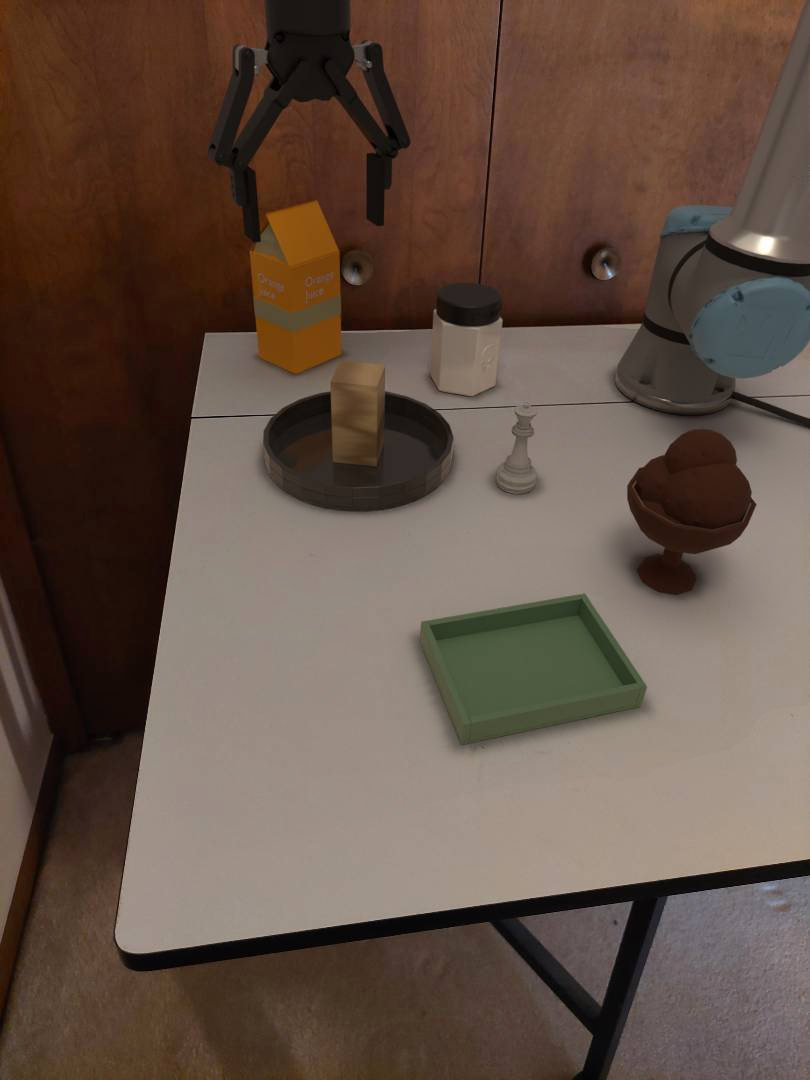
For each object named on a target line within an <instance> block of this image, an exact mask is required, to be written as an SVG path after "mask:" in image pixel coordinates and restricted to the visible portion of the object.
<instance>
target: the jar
mask: <svg viewBox="0 0 810 1080" xmlns="http://www.w3.org/2000/svg"><path fill="white" fill-rule="evenodd" d="M502 301H503V296H502V293H501V292H500V291H499V290H497V289H496V288H494V287H491V286H489V285H486V284H482V283H476V282H454V283H449V284H447V285H443V286H442V287H440V288H439V289H438V291H437V293H436V308H434V309H433V313H432V315H433V316H432V334H431V350H430V351H431V352H430V368H429V369H430V370H429V375H430V377H431V379H432V381H433V383H434V384H435V386H436V388H437V390H438V391H439V392H443V393H449V394H456V395H461V396H466V397H467V396H468V397H474V396H476V395H479V394H481V393H483V392H485V391H488V390H489V389H492V388H494V387H495V386H496V384H497V375H498V366H499V357H500V347H501V340H502V331H503V330H502V329H503V322H504V321H503V317H501V312H502V307H503V302H502Z"/></svg>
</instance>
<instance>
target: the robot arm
mask: <svg viewBox="0 0 810 1080" xmlns="http://www.w3.org/2000/svg"><path fill="white" fill-rule="evenodd" d="M263 4H264V16H265V31H266V43H265V46H264V48H256V47H255V48H254V47H249V46H246V45H244V44H241V43H237V44H235V45H233V47H232V62H231V63H232V70H231V71H232V72H231V75H230V79H229V82H228V84H227V87H226V91H225V94H224V97H223V99H222V103H221V106H220V109H219V113H218V116H217V119H216V123H215V125H214V128H213V132H212V134H211V137H210V140H209V144H208V146H207V149H206V155H207V157H208V158H209V159H210V160H212V161H213V162H214V163H215V164H216V165H218V166H223V167H227V169H228V174H229V175H228V176H229V184H230V194H231V199H232V201H233V203H234V204H235V205H237V206H238V207H241V208H242V209H241V211H242V220H243V221H242V222H243V231H244V235H245V236H246V238H248V239H249V240H250V241H251V242H252V244H253V243H255V242H261V236H260V227H261V224H260V214H259V213H260V212H259V200H258V199H259V198H258V187H257V174H256V173H257V172H256V170H254V169H253V168H252V167H250V166H249V164H250V163H251V161H253V159H254V156H256V153H257V152H258V151H259V149H260V148H261V145H263V143H264V141H265V139H266V137H267V136H268V134H269V132H270V131H271V130H272V128H273V126H274V124H275V123H276V121H277V120H278V118H279V116H280V115H281V114H282V112H283V111H284V110H285V109H287V108H288V107H289V105H290V104H291V102H292V100H294V101H296V102H297V103H308V102H312V101H313V100H318V101H323V102H325V101H326V102H327V101H331V100H332V98H334V99H336V100H337V101H338V103H339V104H340V105H341V107H342V108H343V109H344V111H345V112H346V114H347V115H348V116H349V118H350V119H351V120H352V121H353V123H354V124H355V125H356V127H357V128H358V130H359V131H360V133H361V134H362V135H363V136H364V138H365V139H366V140H367V141H368V144H369V145H370V146H371V147H372V148H373V150H374V151H375V152H367V153H366V164H365V165H366V169H365V170H366V173H365V174H366V177H365V179H366V187H365V188H366V193H365V195H366V198H365V199H366V206H365V207H366V209H365V210H366V212H365V213H366V214H365V215H366V217H365V218H366V220H367V221H368V222H370V223H372V224H373V225H375V226H376V227H383V226H385V191H386V190H391V187H392V184H393V183H392V182H393V178H392V177H393V160H394V159H396V158H397V157H398V155H399V151H400V150H403V149H405V150H407V149H408V148H409V147H410V145H411V143H412V142H411V138H410V135H409V132H408V130H407V126H406V124H405V122H404V119H403V117H402V114H401V112H400V109H399V107H398V103H397V100H396V99H395V95H394V93H393V90H392V88H391V85H390V83H389V80H388V76H387V74H386V71H385V68H384V67H385V65H384V53H383V47H382V46H381V44H380V43H378V42H375V41H371V40H368V39H364V40H362V41H361V42H360V44H353V45H352V43H351V37H350V34H351V33H350V32H351V26H352V25H351V0H264V1H263ZM354 62H355V64H356V66H357V68H359V69H360V70H361V71H362V74H363V75H362V76H363V79H364V80H365V83H366V85H367V87H368V90H369V92H370V95H371V98H372V100H373V103H374V105H375V107H376V108H375V109H376V110H377V112H378V113H377V114H378V115H379V117H380V120H381V123H382V125H383V128H384V130H385V132H386V133H385V132H384V131H383V129H382V128H381V126H380V125H379V124H378V122H377V120H376V119H375V117H374V116H373V115H372V114H371V113H370V111H369V109H368V108H367V107H366V105H365V104H364V103H363V102H362V100H361V98H360V97H359V96H358V92H357V91H356V89H355V87H354V86H353V85H352V84H351V83H350V81H349V79H348V78H347V75H348V74H349V72H350V70H351V68H352V66H353V65H354ZM264 65H265V67H266V68H267V70H268V71H269V73H270V74H271V75H272V77H271V79H270V81H269V83H268V84H267V86H265V89H264V91H263V96H262V98H261V99H260V100H259V103H258V104H257V106H256V107H255V109H254V111H253V112H252V114H251V115H250V117H249V118H248V120H247V121H246V124H245V125H244V127H243V128H242V130H241V132H240V133H239V135H238V136H237V134H238V131H239V128H240V125H241V121H242V120H243V116H244V113H245V110H246V107H247V104H248V101H249V99H250V95H251V92H252V89H253V85H254V81H255V77H257V76H258V75H259V74H260V72H261V69H262V67H263V66H264ZM236 137H237V138H236ZM658 244H659V245H658V249H657V253H656V258H655V260H654V261H655V262H654V265H653V271H652V275H651V280H650V284H649V288H648V294H647V298H646V302H645V306H644V312H643V316H642V320H641V324H640V326H639V328H638V330H637V331H636V333H635V334H634V337H633V338H632V340H631V342H630V344H629V345H628V347H627V348H626V350H625V352H624V354H623V355H622V356H621V358H620V360H619V362H618V364H617V368H616V372H615V373H616V374H615V377H614V382H615V385H616V387H617V389H618V390H619V391H620V392H621V393H622V394H623V395H624V396H625V397H627V398H628V399H630V400H632V401H633V402H635V403H637V404H639V405H642V406H644V407H647V408H648V409H649V408H650V409H652V410H656V411H660V412H663V413H669V414H676V415H687V416H689V415H692V416H693V415H696V416H697V415H705V414H711V413H715V412H718V411H721V410H723V409H724V408H726V407H727V406H729V404H730V403H731V402H732V400H734V401H739V402H740V403H744V404H746V405H748V406H751V407H754V408H757V409H760V410H763V411H765V412H768V413H771V414H773V415H776V416H779V417H781V418H784V419H786V420H788V421H791V422H795V423H798V424H800V425H804V426H807V427H810V417H807V416H804V415H800V414H798V413H794V412H792V411H789V410H786V409H784V408H781V407H778V406H777V405H773V404H771V403H768V402H766V401H762V400H760V399H756V398H754V397H751V396H750V395H749V396H748V395H747V394H744V393H743V394H742V393H740V392H737V391H735V389H736V379H752V378H758V377H762V376H765V375H768V374H770V373H772V372H773V371H774V370H777V369H779V368H781V367H784V366H786V365H788V364H789V363H791V362H792V361H793V360H795V358H797V357H798V356H799V355H800V354H801V353H802V352H803V351H804V350H805V348H806V347H807V346H808V344H809V343H810V0H804V2H803V5H802V8H801V12H800V15H799V17H798V20H797V22H796V25H795V29H794V31H793V34H792V37H791V40H790V43H789V46H788V49H787V51H786V54H785V57H784V60H783V64H782V66H781V69H780V72H779V74H778V77H777V80H776V84H775V86H774V89H773V92H772V95H771V98H770V101H769V103H768V106H767V110H766V112H765V115H764V118H763V121H762V123H761V127H760V129H759V133H758V135H757V139H756V140H755V144H754V146H753V150H752V152H751V155H750V158H749V161H748V163H747V167H746V169H745V172H744V175H743V178H742V181H741V184H740V188H739V190H738V192H737V195H736V197H735V200H734V204H733V207H731V206H722V205H721V206H720V205H704V204H703V205H701V204H699V205H698V204H697V205H684V206H683V205H682V206H679V207H675V208H674V209H672V210H670V211H669V213H668V214H667V215H666V217H665V221H664V223H663V228H662V231H661V232H660V234H659V243H658Z"/></svg>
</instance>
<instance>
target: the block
mask: <svg viewBox="0 0 810 1080" xmlns="http://www.w3.org/2000/svg"><path fill="white" fill-rule="evenodd" d="M332 375H333V376H332V377H331V379H330V383H329V384H330V391H331V417H332V452H333V462H338V463H347V464H356V465H365V466H375V467H377V464H378V461H379V458H380V454H381V451H382V448H383V445H384V416H385V391H386V364H379V363H369V362H357V361H347V360H339V363H338V365H337V367H336V369H335V371H334V373H333V374H332Z"/></svg>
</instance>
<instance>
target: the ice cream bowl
mask: <svg viewBox="0 0 810 1080" xmlns="http://www.w3.org/2000/svg"><path fill="white" fill-rule="evenodd" d="M737 463H738V457H737V451H736V449H735V447H734V445H733V443H732V441H730V440H729V439H728V438H727V437H726V436H725V435H723V434H722V433H719V432H718V431H715V430H713V429H710V428H695V429H691V430H688V431H685V432H684V433H681V434H680V435H679V436H678V437H677V438H676V439H675V440H674V441H673V442H671V443H670V444H669V446H668V447H667V449H666V451H665V453H664V454H663V455H659V456H656V457H654V458H651V459H650V460H649V461H648V462H647V463H646V464H645V465H644V466H642V467H639V468H637V470H636V472H635V473H634V475H633V476H632V477H631V479H630V481H629V482H628V484H627V486H626V500H627V503H628V507H629V510H630V512H631V514H632V517H633V518H634V520H635V522H636V523H637V526H638V528H639V530H640V531H641V532H642V534H644V536H646V538H647V539H649V540H651V541H652V542H654V543H656V544H658V545H659V546H661V547H662V548H664V550H663V553H656V554H651V555H648V556H645V557H644V558H643V559H642V561H641V563H639V566H638V567H637V569H636V572H637V574H638V576H639V577H640V580H641V582H642V583H643V584H645V585H646V586H648V587H649V588H651V589H653V590H654V591H656V592H657V593H665V594H670V595H676V596H677V595H681V594H684V593H687V592H690V591H692V590H693V588H694V586H695V584H696V582H697V575H696V573H695V571H694V569H693V567H692V566H691V564H690V563H688V562H686V561H685V560H683V556H684V555H683V554H688V555H699V554H702V553H705V552H708V551H712V550H715V549H719V548H723V547H725V546H729V545H732V544H733V543H734V542H735V541H737V540H738V539H739V538H740V537H741V536H742V534H743V533H744V531H745V530H746V529H747V527H748V526H749V523H750V521H751V520H752V516H753V514H754V512H755V510H756V507H757V505H758V504H757V503H756V502H755V500H754V499H753V497H752V494H753V492H752V487H751V484H750V481H749V480H748V478H747V477H746V476H745V474H744V472H743V471H742V470H741V468H739V466H737Z"/></svg>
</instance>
